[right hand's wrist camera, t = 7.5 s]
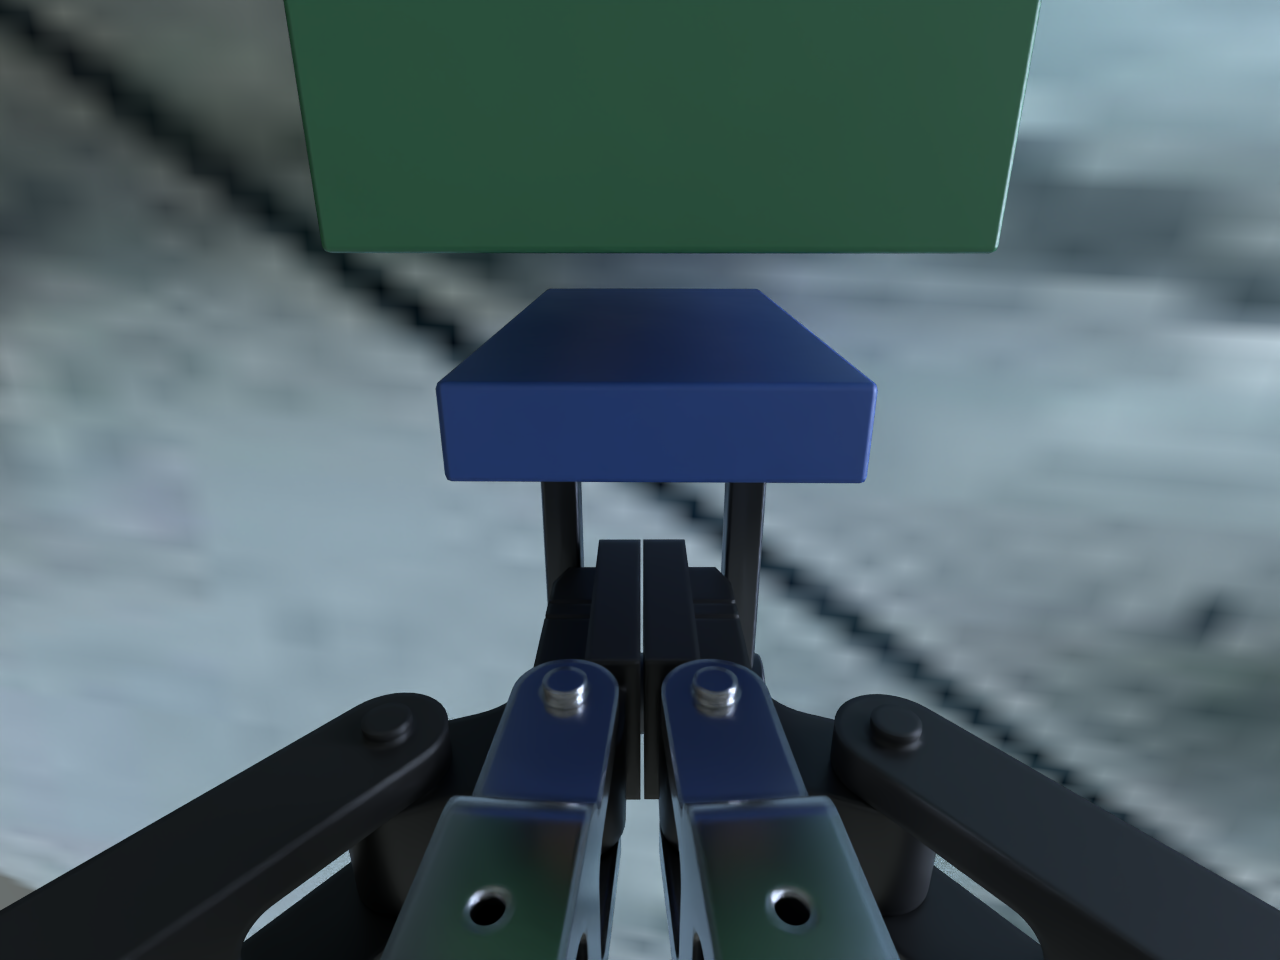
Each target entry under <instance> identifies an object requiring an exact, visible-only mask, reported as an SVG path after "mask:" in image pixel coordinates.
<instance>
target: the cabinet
mask: <svg viewBox="0 0 1280 960" xmlns="http://www.w3.org/2000/svg"><path fill="white" fill-rule="evenodd" d="M1041 1H1042V0H284V6H285V13H286V19H287V26H288V32H289V38H290V45H291V51H292V58H293V64H294V70H295V77H296V83H297V89H298V96H299V102H300V109H301V115H302V121H303V128H304V134H305V141H306V147H307V153H308V160H309V166H310V172H311V179H312V185H313V192H314V198H315V204H316V211H317V217H318V223H319V230H320V236H321V243H322V247H323V249H324V250H325V251H327V252H330V253H991V252H994V251H996V249H997V247H998V244H999V239H1000V233H1001V227H1002V222H1003V216H1004V210H1005V205H1006V199H1007V193H1008V188H1009V182H1010V176H1011V171H1012V165H1013V159H1014V154H1015V148H1016V142H1017V137H1018V131H1019V125H1020V120H1021V114H1022V108H1023V103H1024V97H1025V91H1026V86H1027V80H1028V74H1029V69H1030V63H1031V57H1032V52H1033V46H1034V40H1035V35H1036V29H1037V23H1038V18H1039V12H1040V6H1041Z"/></svg>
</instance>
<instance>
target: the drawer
mask: <svg viewBox="0 0 1280 960" xmlns="http://www.w3.org/2000/svg"><path fill="white" fill-rule="evenodd" d="M877 391H878V390H877V386H876V384H875V383H874V382H873V381H871V380H870V379H869V378H868V377H866V376H865V375H864V374H863V373H861V372H860V371H859V370H858V369H856V368H855V367H854V366H853V365H851V364H850V363H849V362H848V361H846V360H845V359H844V358H843V357H841V356H840V355H839V354H838V353H836V352H835V351H834V350H833V349H832V348H830V347H829V346H828V345H827V344H825V343H824V342H823V341H822V340H820V339H819V338H818V337H817V336H815V335H814V334H813V333H812V332H810V331H809V330H808V329H807V328H805V327H804V326H803V325H802V324H800V323H799V322H798V321H797V320H795V319H794V318H793V317H792V316H791V315H789V314H788V313H787V312H786V311H784V310H783V309H782V308H781V307H779V306H778V305H777V304H776V303H774V302H773V301H772V300H771V299H769V298H768V297H767V296H766V295H764V294H763V293H762V292H761V291H759V290H758V289H548V290H546V291H545V292H544V293H543V294H542V295H541V296H539V297H538V298H537V299H536V300H535V301H533V302H532V303H531V304H530V305H529V306H528V307H526V308H525V309H524V310H523V311H522V312H520V313H519V314H518V315H517V316H516V317H515V318H513V319H512V320H511V321H510V322H509V323H507V324H506V325H505V326H504V327H503V328H502V329H500V330H499V331H498V332H497V333H496V334H495V335H493V336H492V337H491V338H490V339H489V340H487V341H486V342H485V343H484V344H483V345H482V346H480V347H479V348H478V349H477V350H476V351H474V352H473V353H472V354H471V355H470V356H469V357H467V358H466V359H465V360H464V361H463V362H461V363H460V364H459V365H458V366H457V367H456V368H454V369H453V370H452V371H451V372H450V373H448V374H447V375H446V376H445V377H444V378H443V379H441V380H440V381H439V382H438V383H437V386H436V396H437V405H438V414H439V424H440V433H441V442H442V451H443V461H444V470H445V475H446V478H447V480H450V481H521V482H541V493H542V511H543V529H544V547H545V565H546V583H547V601H548V604H549V598H550V593H551V589H552V585H553V582H554V581H555V580H556V579H557V578H558V577H559V576H560V575H561V574H562V573H563V572H564V571H565V570H566V569H567V568H568V567H584V551H583V521H582V490H581V482H724V483H725V499H724V520H723V541H722V562H721V573H722V574H723V575H724V576H725V577H726V578H727V579H728V580H729V581H730V582H731V584H732V589H733V593H734V597H735V604H736V605H737V610H738V614H739V619H740V622H741V626H742V630H743V635H744V639H745V643H746V647H747V651H748V655H749V660H750V664H751V668H752V671H753V672H755V673H756V674H757V675H758V676H759V677H760V678H761V679H762V680H763V681H764V682H765V677H764V670H763V664H762V661H761V658H760V656H759V655H758V654H754V650H755V636H756V622H757V607H758V593H759V579H760V565H761V551H762V536H763V522H764V508H765V494H766V483H862V482H864V481H865V479H866V477H867V470H868V463H869V455H870V447H871V439H872V431H873V423H874V415H875V407H876V399H877ZM640 734H644V688H643V653H640Z"/></svg>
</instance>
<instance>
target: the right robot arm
mask: <svg viewBox="0 0 1280 960" xmlns="http://www.w3.org/2000/svg"><path fill="white" fill-rule="evenodd" d="M643 688H644V799H659V818H660V826H659V854H660V862H661V871H662V879H663V888H664V896H665V905H666V913H667V922H668V930H669V939H670V947H671V956H672V960H1280V910H1278V909H1276V908H1274V907H1273V906H1271V905H1269V904H1267V903H1266V902H1264V901H1262V900H1260V899H1259V898H1257V897H1255V896H1253V895H1252V894H1250V893H1248V892H1246V891H1245V890H1243V889H1241V888H1239V887H1238V886H1236V885H1234V884H1233V883H1231V882H1229V881H1227V880H1226V879H1224V878H1222V877H1220V876H1219V875H1217V874H1215V873H1213V872H1212V871H1210V870H1208V869H1206V868H1205V867H1203V866H1201V865H1199V864H1198V863H1196V862H1194V861H1192V860H1191V859H1189V858H1187V857H1185V856H1184V855H1182V854H1180V853H1179V852H1177V851H1175V850H1173V849H1172V848H1170V847H1168V846H1166V845H1165V844H1163V843H1161V842H1159V841H1158V840H1156V839H1154V838H1152V837H1151V836H1149V835H1147V834H1145V833H1144V832H1142V831H1140V830H1138V829H1137V828H1135V827H1133V826H1131V825H1130V824H1128V823H1126V822H1125V821H1123V820H1121V819H1119V818H1118V817H1116V816H1114V815H1112V814H1111V813H1109V812H1107V811H1105V810H1104V809H1102V808H1100V807H1098V806H1097V805H1095V804H1093V803H1091V802H1090V801H1088V800H1086V799H1084V798H1083V797H1081V796H1079V795H1077V794H1076V793H1074V792H1072V791H1071V790H1069V789H1067V788H1065V787H1064V786H1062V785H1060V784H1058V783H1057V782H1055V781H1053V780H1051V779H1050V778H1048V777H1046V776H1044V775H1043V774H1041V773H1039V772H1037V771H1036V770H1034V769H1032V768H1030V767H1029V766H1027V765H1025V764H1023V763H1022V762H1020V761H1018V760H1017V759H1015V758H1013V757H1011V756H1010V755H1008V754H1006V753H1004V752H1003V751H1001V750H999V749H997V748H996V747H994V746H992V745H990V744H989V743H987V742H985V741H983V740H982V739H980V738H978V737H976V736H975V735H973V734H971V733H969V732H968V731H966V730H964V729H963V728H961V727H959V726H957V725H956V724H954V723H952V722H950V721H949V720H947V719H945V718H943V717H942V716H940V715H938V714H936V713H935V712H933V711H931V710H929V709H928V708H926V707H924V706H922V705H920V704H918V703H916V702H913V701H910V700H908V699H904V698H901V697H897V696H891V695H883V694H869V695H863V696H858V697H855V698H852V699H850V700H849V701H847V702H845V703H844V704H843V705H842V706H841V707H840V708H839V709H838V711H837V713H836V716H835V720H833V719H829V718H825V717H820V716H816V715H811V714H807V713H803V712H800V711H796V710H794V709H791V708H789V707H786V706H784V705H782V704H780V703H778V702H777V701H775V700H774V699H772V698H771V696H770V693H769V691H768V688H767V686H766V684H765V682H764V681H763V680H762V679H761V678H760V677H759V676H758V675H757V674H756V673H755V672H753V671H752V668H751V664H750V660H749V655H748V651H747V647H746V643H745V639H744V635H743V630H742V626H741V622H740V619H739V614H738V610H737V605H736V604H735V597H734V593H733V589H732V584H731V582H730V581H729V580H728V579H727V578H726V577H725V576H724V575H723V574H722V573H721V572H720V571H719V570H718V569H717V568H716V567H688V561H687V554H686V546H685V540H684V539H643ZM626 799H640V540H599V546H598V554H597V562H596V567H568V568H567V569H566V570H565V571H564V572H563V573H562V574H561V575H560V576H559V577H558V578H557V579H556V580H555V581H554V582H553V585H552V589H551V593H550V598H549V604H548V606H547V611H546V618H545V620H544V624H543V628H542V633H541V637H540V641H539V646H538V650H537V654H536V659H535V663H534V667H533V668H532V669H530V670H529V671H527V672H525V673H524V674H523V675H522V676H521V677H520V678H519V679H518V680H517V682H516V683H515V685H514V687H513V689H512V691H511V694H510V696H509V699H508V702H507V703H505V704H503V705H501V706H499V707H497V708H495V709H492V710H489V711H486V712H483V713H479V714H475V715H470V716H466V717H462V718H457V719H453V720H448V715H447V713H446V710H445V708H444V707H443V706H442V704H440V703H439V702H438V701H437V700H435V699H433V698H431V697H429V696H426V695H423V694H417V693H394V694H388V695H383V696H380V697H376V698H373V699H371V700H368V701H366V702H364V703H362V704H360V705H358V706H356V707H354V708H352V709H351V710H349V711H347V712H345V713H344V714H342V715H340V716H338V717H337V718H335V719H333V720H331V721H330V722H328V723H326V724H324V725H323V726H321V727H319V728H317V729H316V730H314V731H312V732H310V733H309V734H307V735H305V736H304V737H302V738H300V739H298V740H297V741H295V742H293V743H291V744H290V745H288V746H286V747H284V748H283V749H281V750H279V751H277V752H276V753H274V754H272V755H270V756H269V757H267V758H265V759H263V760H262V761H260V762H258V763H256V764H255V765H253V766H251V767H250V768H248V769H246V770H244V771H243V772H241V773H239V774H237V775H236V776H234V777H232V778H230V779H229V780H227V781H225V782H223V783H222V784H220V785H218V786H216V787H215V788H213V789H211V790H209V791H208V792H206V793H204V794H202V795H201V796H199V797H197V798H196V799H194V800H192V801H190V802H189V803H187V804H185V805H183V806H182V807H180V808H178V809H176V810H175V811H173V812H171V813H169V814H168V815H166V816H164V817H162V818H161V819H159V820H157V821H155V822H154V823H152V824H150V825H149V826H147V827H145V828H143V829H142V830H140V831H138V832H136V833H135V834H133V835H131V836H129V837H128V838H126V839H124V840H122V841H121V842H119V843H117V844H115V845H114V846H112V847H110V848H108V849H107V850H105V851H103V852H101V853H100V854H98V855H96V856H95V857H93V858H91V859H89V860H88V861H86V862H84V863H82V864H81V865H79V866H77V867H75V868H74V869H72V870H70V871H68V872H67V873H65V874H63V875H61V876H60V877H58V878H56V879H54V880H53V881H51V882H49V883H47V884H46V885H44V886H42V887H41V888H39V889H37V890H35V891H34V892H32V893H30V894H28V895H27V896H25V897H23V898H21V899H20V900H18V901H16V902H14V903H13V904H11V905H9V906H7V907H6V908H4V909H2V910H0V960H608V957H609V949H610V940H611V932H612V923H613V915H614V906H615V898H616V889H617V881H618V872H619V864H620V856H621V835H622V833H623V830H624V827H625V820H626ZM348 850H349V853H350V858H351V862H350V863H349V864H347V865H346V866H345V867H343V868H342V869H341V870H339V871H338V872H337V873H335V874H334V875H333V876H331V877H330V878H329V879H327V880H326V881H325V882H323V883H322V884H321V885H319V886H318V887H317V888H315V889H314V890H313V891H311V892H310V893H309V894H307V895H306V896H305V897H303V898H302V899H301V900H299V901H298V902H297V903H295V904H294V905H293V906H291V907H290V908H289V909H287V910H286V911H285V912H283V913H282V914H281V915H279V916H278V917H277V918H275V919H274V920H273V921H271V922H270V923H269V924H267V925H266V926H264V927H263V928H262V929H260V930H259V931H258V932H256V933H255V934H254V935H252V936H251V937H250V938H248V939H247V940H246V941H244V939H245V937H246V935H247V933H248V932H249V930H250V928H251V927H252V926H253V924H254V923H255V922H256V921H257V919H258V918H259V917H260V916H261V915H262V914H263V913H264V912H265V911H266V910H267V909H269V908H270V907H271V906H272V905H274V904H275V903H277V902H278V901H279V900H281V899H282V898H283V897H285V896H286V895H287V894H289V893H290V892H292V891H293V890H294V889H296V888H297V887H298V886H300V885H301V884H302V883H304V882H305V881H307V880H308V879H309V878H311V877H312V876H313V875H315V874H316V873H318V872H319V871H320V870H322V869H323V868H324V867H326V866H327V865H328V864H330V863H331V862H333V861H334V860H335V859H337V858H338V857H339V856H341V855H342V854H344V853H345V852H346V851H348ZM936 854H938V855H939V856H941V857H942V858H943V859H945V860H946V861H947V862H949V863H950V864H952V865H953V866H954V867H956V868H957V869H958V870H960V871H961V872H962V873H964V874H965V875H967V876H968V877H969V878H971V879H972V880H973V881H975V882H976V883H977V884H979V885H980V886H982V887H983V888H984V889H986V890H987V891H988V892H990V893H991V894H993V895H994V896H995V897H997V898H998V899H999V900H1001V901H1002V902H1003V903H1005V904H1006V905H1008V906H1009V907H1010V908H1012V909H1013V910H1014V911H1015V912H1017V913H1018V914H1019V915H1020V916H1021V917H1022V918H1023V919H1024V920H1025V921H1026V922H1027V923H1028V925H1029V926H1030V927H1031V929H1032V930H1033V931H1034V933H1035V935H1036V936H1037V938H1038V940H1039V942H1040V944H1038V943H1037V942H1036V941H1034V940H1033V939H1032V938H1030V937H1029V936H1028V935H1026V934H1025V933H1024V932H1022V931H1021V930H1020V929H1018V928H1017V927H1016V926H1014V925H1013V924H1011V923H1010V922H1009V921H1007V920H1006V919H1005V918H1003V917H1002V916H1001V915H999V914H998V913H997V912H995V911H994V910H993V909H991V908H990V907H989V906H987V905H986V904H985V903H983V902H982V901H981V900H979V899H978V898H977V897H975V896H974V895H973V894H971V893H970V892H969V891H967V890H966V889H965V888H963V887H962V886H961V885H959V884H958V883H957V882H955V881H954V880H953V879H951V878H950V877H949V876H947V875H946V874H945V873H943V872H942V871H941V870H939V869H938V868H937V867H935V866H934V861H935V856H936Z"/></svg>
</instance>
